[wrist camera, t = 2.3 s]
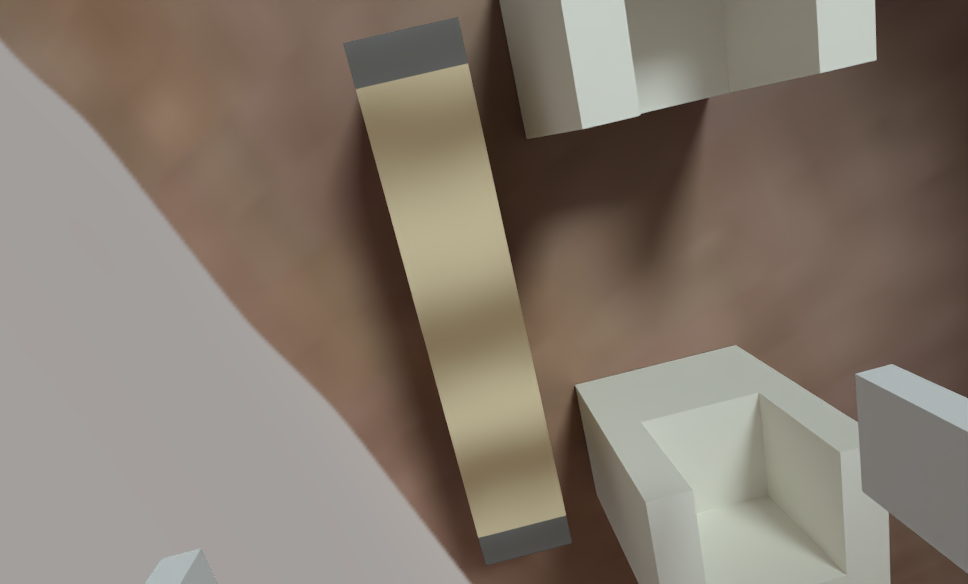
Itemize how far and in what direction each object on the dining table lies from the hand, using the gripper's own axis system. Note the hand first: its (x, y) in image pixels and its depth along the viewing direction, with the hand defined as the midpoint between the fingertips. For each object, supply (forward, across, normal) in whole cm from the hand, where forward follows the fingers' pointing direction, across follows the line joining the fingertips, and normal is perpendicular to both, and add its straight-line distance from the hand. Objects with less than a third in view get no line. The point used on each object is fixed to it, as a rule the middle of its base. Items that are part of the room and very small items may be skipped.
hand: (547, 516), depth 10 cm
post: (+17, +8, -10) cm, 21 cm away
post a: (+17, +9, +10) cm, 22 cm away
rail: (+17, -1, 0) cm, 17 cm away
